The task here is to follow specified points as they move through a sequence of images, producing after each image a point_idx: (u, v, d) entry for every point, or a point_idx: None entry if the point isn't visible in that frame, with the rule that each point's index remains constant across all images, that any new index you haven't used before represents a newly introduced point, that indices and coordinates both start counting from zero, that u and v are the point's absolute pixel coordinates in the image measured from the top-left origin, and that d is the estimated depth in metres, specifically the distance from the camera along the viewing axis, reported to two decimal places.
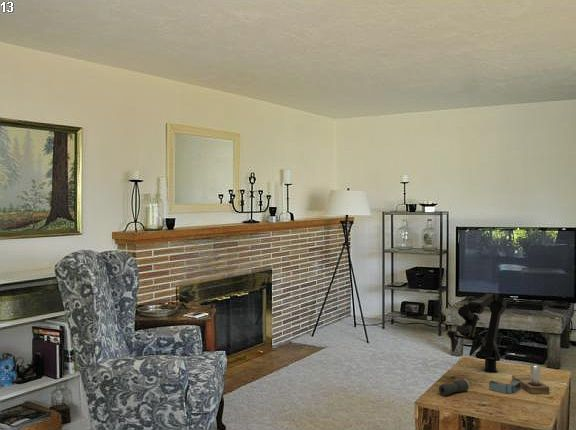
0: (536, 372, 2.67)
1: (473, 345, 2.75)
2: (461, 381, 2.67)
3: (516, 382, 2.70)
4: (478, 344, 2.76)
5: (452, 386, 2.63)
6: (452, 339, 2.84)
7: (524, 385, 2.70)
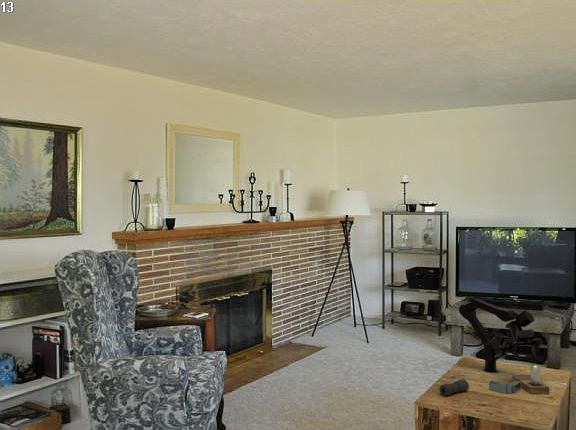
0: (536, 372, 2.67)
1: (536, 348, 2.79)
2: (461, 381, 2.67)
3: (516, 382, 2.70)
4: None
5: (453, 386, 2.63)
6: (514, 347, 2.78)
7: (524, 385, 2.70)
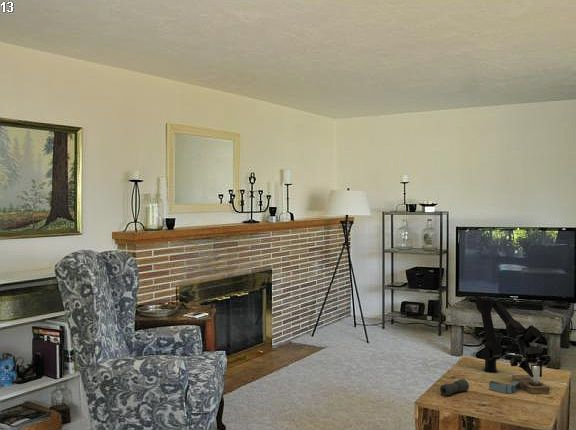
0: (536, 372, 2.67)
1: (540, 365, 2.70)
2: (461, 381, 2.67)
3: (516, 382, 2.70)
4: None
5: (453, 386, 2.63)
6: (527, 364, 2.70)
7: (524, 385, 2.70)
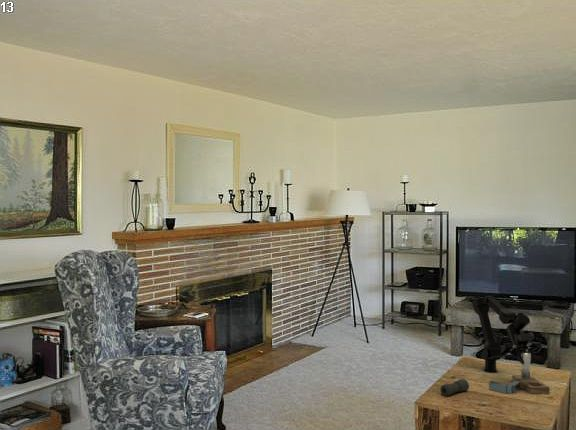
0: (527, 359, 2.68)
1: (531, 352, 2.71)
2: (461, 381, 2.67)
3: (516, 382, 2.70)
4: None
5: (453, 386, 2.63)
6: (518, 351, 2.70)
7: (524, 385, 2.70)
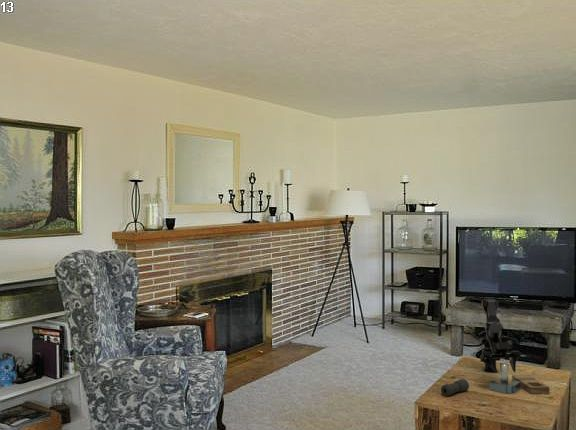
0: (504, 371, 2.69)
1: (514, 361, 2.73)
2: (462, 381, 2.67)
3: (516, 382, 2.70)
4: None
5: (454, 386, 2.63)
6: (491, 359, 2.72)
7: (524, 385, 2.70)
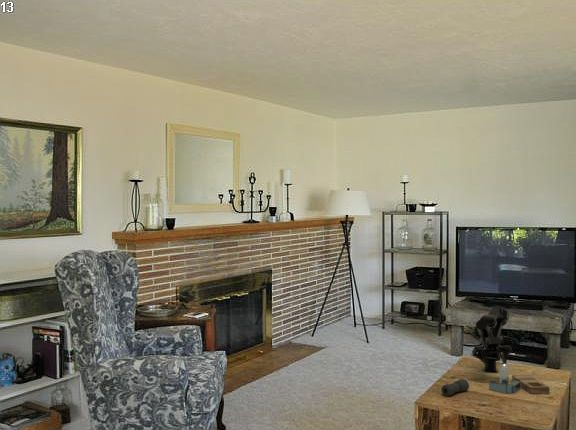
0: (504, 371, 2.69)
1: (505, 355, 2.82)
2: (462, 381, 2.67)
3: (516, 382, 2.70)
4: None
5: (454, 386, 2.63)
6: (483, 354, 2.81)
7: (524, 385, 2.70)
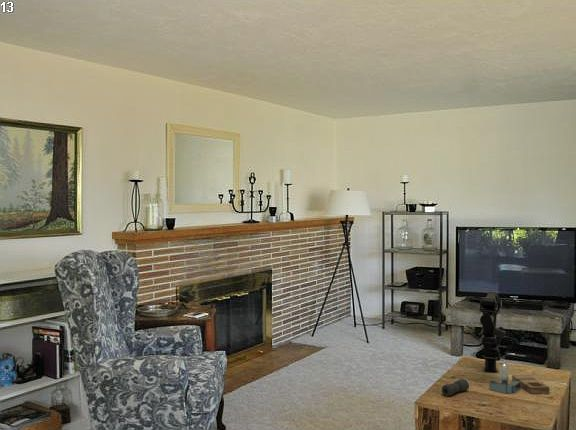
0: (504, 371, 2.69)
1: None
2: (462, 381, 2.67)
3: (516, 382, 2.70)
4: None
5: (454, 386, 2.63)
6: None
7: (524, 385, 2.70)
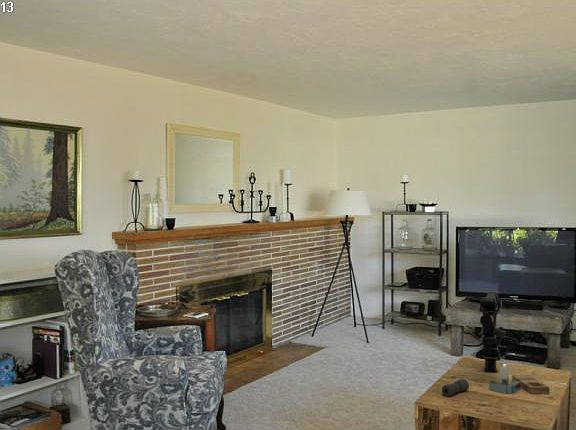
0: (505, 371, 2.70)
1: None
2: (462, 381, 2.68)
3: (516, 382, 2.70)
4: None
5: (455, 386, 2.63)
6: None
7: (524, 385, 2.70)
